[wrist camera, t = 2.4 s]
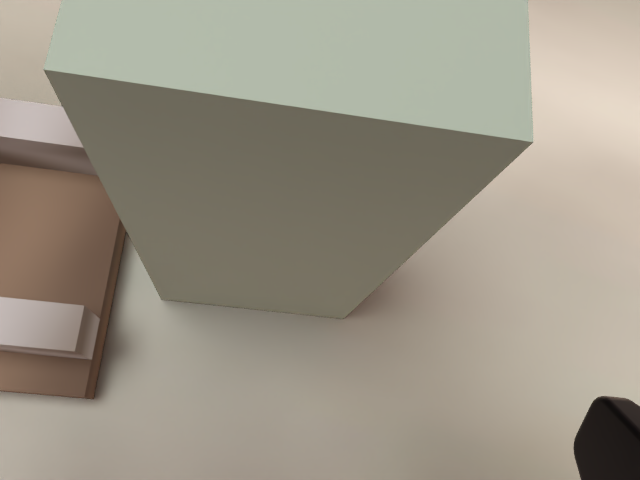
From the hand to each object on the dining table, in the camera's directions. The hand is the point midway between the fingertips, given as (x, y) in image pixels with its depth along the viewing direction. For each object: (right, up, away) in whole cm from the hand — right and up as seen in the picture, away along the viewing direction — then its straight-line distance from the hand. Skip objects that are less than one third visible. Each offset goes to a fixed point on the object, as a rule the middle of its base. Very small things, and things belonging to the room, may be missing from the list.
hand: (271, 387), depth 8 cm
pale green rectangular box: (-1, +1, +12) cm, 12 cm away
